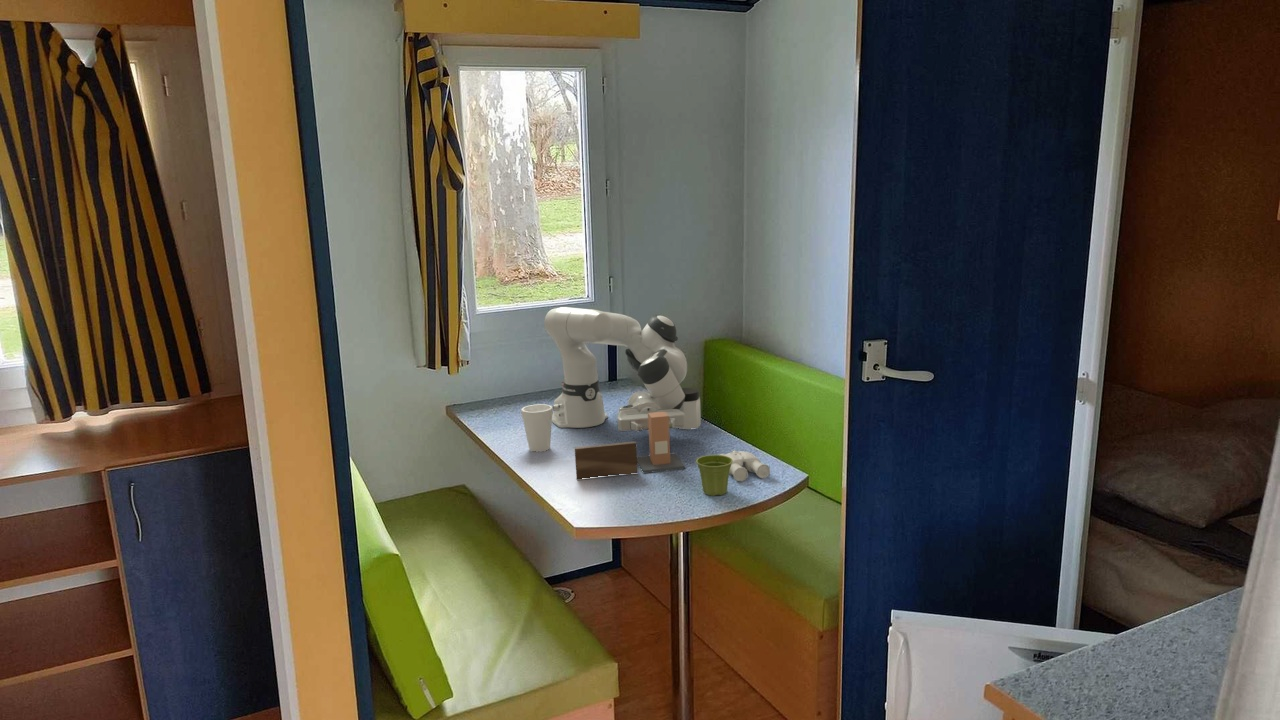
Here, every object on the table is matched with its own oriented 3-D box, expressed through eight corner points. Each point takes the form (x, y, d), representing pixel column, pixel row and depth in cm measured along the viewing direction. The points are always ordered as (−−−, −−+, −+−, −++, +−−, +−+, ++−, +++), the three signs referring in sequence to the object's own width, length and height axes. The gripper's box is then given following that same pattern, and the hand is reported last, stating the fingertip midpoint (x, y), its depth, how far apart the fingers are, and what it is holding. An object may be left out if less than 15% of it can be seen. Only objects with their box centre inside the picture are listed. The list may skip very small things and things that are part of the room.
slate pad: (635, 459, 262) (635, 457, 261) (675, 455, 264) (675, 453, 263) (643, 473, 250) (642, 470, 250) (684, 468, 252) (684, 466, 252)
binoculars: (734, 483, 239) (734, 467, 238) (714, 465, 255) (713, 449, 254) (770, 478, 242) (770, 462, 241) (748, 460, 257) (748, 445, 256)
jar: (706, 426, 292) (705, 390, 289) (688, 431, 286) (687, 395, 284) (686, 421, 298) (685, 386, 296) (669, 426, 293) (667, 391, 290)
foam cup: (521, 447, 278) (517, 406, 276) (549, 442, 282) (546, 402, 279) (529, 455, 270) (526, 414, 267) (558, 450, 273) (556, 409, 271)
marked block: (649, 459, 259) (647, 413, 256) (666, 457, 259) (665, 411, 256) (653, 465, 253) (651, 417, 250) (670, 463, 254) (668, 416, 251)
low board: (576, 478, 248) (574, 447, 246) (636, 472, 251) (635, 441, 249) (577, 480, 247) (575, 449, 245) (637, 473, 249) (636, 443, 248)
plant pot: (708, 483, 240) (707, 452, 238) (739, 489, 234) (739, 457, 233) (690, 494, 232) (689, 462, 230) (722, 500, 227) (721, 468, 225)
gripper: (681, 421, 274) (690, 434, 261) (615, 427, 271) (621, 440, 258) (680, 401, 273) (690, 413, 259) (613, 407, 270) (620, 419, 256)
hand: (655, 427), depth 258 cm, fingers open, 8 cm apart
